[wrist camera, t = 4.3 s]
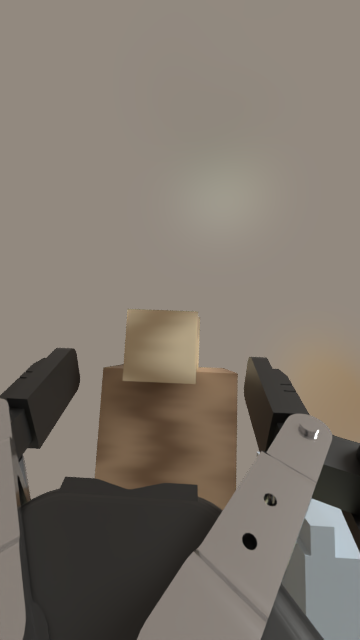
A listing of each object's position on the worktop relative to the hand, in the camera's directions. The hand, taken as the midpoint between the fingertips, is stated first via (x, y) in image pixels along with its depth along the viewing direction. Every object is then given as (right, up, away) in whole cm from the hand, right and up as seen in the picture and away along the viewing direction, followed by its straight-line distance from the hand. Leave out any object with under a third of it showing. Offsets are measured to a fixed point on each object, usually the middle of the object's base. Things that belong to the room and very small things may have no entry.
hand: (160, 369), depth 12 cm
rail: (0, -1, +7) cm, 7 cm away
